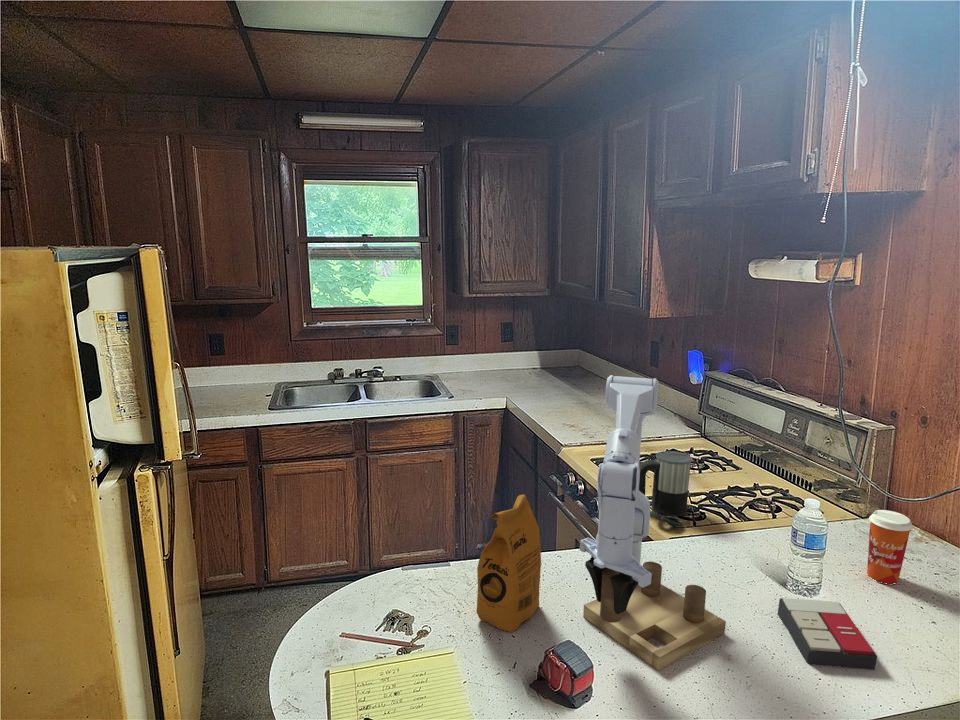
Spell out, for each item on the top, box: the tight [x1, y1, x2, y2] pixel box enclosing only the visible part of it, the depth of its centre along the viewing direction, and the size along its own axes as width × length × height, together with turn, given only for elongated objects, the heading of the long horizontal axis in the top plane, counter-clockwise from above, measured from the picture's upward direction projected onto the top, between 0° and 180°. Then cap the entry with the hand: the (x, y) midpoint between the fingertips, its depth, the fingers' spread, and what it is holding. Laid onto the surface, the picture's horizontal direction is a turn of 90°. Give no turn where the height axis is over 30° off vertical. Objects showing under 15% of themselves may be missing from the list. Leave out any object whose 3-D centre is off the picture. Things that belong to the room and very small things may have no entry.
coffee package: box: [475, 494, 542, 633], centre depth 119 cm, size 10×12×22 cm
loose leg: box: [600, 568, 622, 623], centre depth 108 cm, size 4×4×8 cm
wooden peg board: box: [582, 561, 727, 671], centre depth 117 cm, size 18×18×8 cm
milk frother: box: [639, 450, 693, 528], centre depth 162 cm, size 14×16×15 cm
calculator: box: [777, 597, 878, 671], centre depth 114 cm, size 11×4×15 cm
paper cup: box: [866, 509, 914, 584], centre depth 133 cm, size 8×8×14 cm
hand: (611, 605), depth 108 cm, fingers closed on loose leg, 4 cm apart
